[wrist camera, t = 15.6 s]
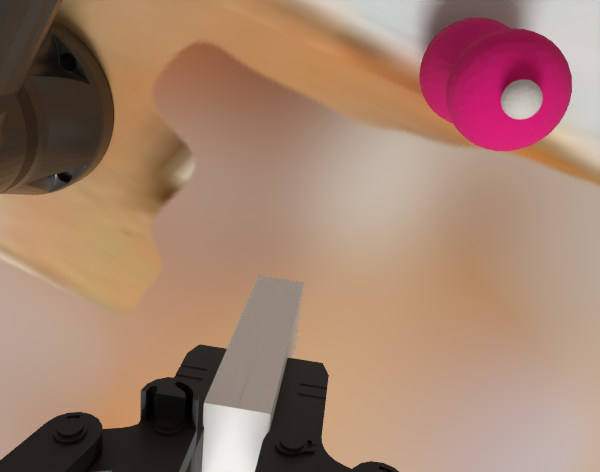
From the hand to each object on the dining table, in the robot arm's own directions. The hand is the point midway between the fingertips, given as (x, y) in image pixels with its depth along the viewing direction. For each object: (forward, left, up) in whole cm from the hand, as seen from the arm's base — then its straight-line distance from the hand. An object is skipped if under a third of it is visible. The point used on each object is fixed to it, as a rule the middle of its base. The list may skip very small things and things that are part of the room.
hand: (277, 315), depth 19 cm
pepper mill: (+8, +8, -30) cm, 32 cm away
